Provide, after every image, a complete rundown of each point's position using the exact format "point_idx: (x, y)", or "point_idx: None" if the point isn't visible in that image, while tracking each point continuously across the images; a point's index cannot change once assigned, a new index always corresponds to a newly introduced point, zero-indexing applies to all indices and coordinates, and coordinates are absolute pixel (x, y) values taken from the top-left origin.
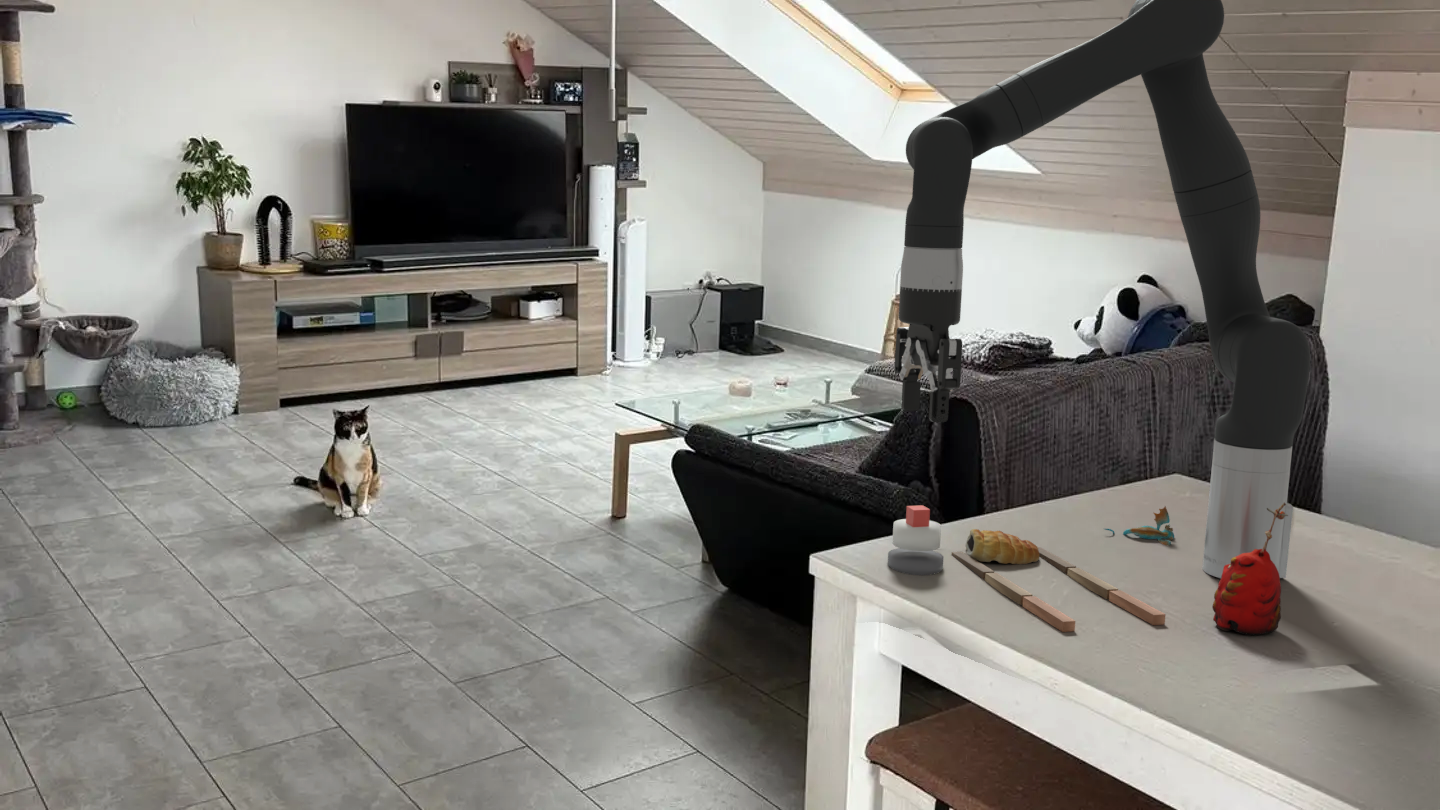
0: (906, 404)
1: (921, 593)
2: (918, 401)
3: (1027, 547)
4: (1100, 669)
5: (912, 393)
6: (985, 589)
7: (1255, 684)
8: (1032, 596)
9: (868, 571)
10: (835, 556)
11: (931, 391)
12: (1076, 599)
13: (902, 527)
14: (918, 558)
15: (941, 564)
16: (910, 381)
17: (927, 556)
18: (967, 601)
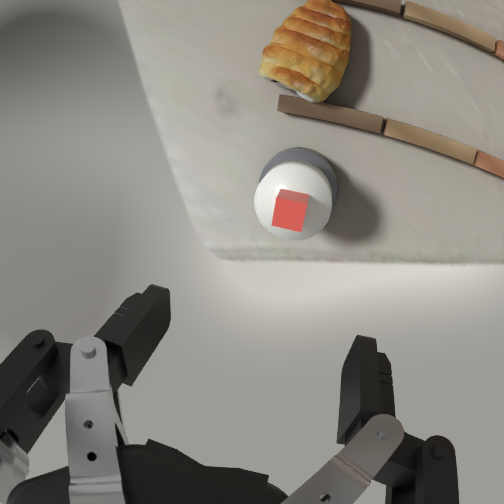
0: (162, 330)
1: (381, 235)
2: (156, 305)
3: (345, 26)
4: None
5: (145, 339)
6: (405, 153)
7: None
8: (481, 155)
9: (281, 238)
10: (212, 238)
11: (340, 442)
12: (477, 82)
13: (298, 235)
14: None
15: (331, 168)
16: (123, 372)
17: None
18: (429, 206)
